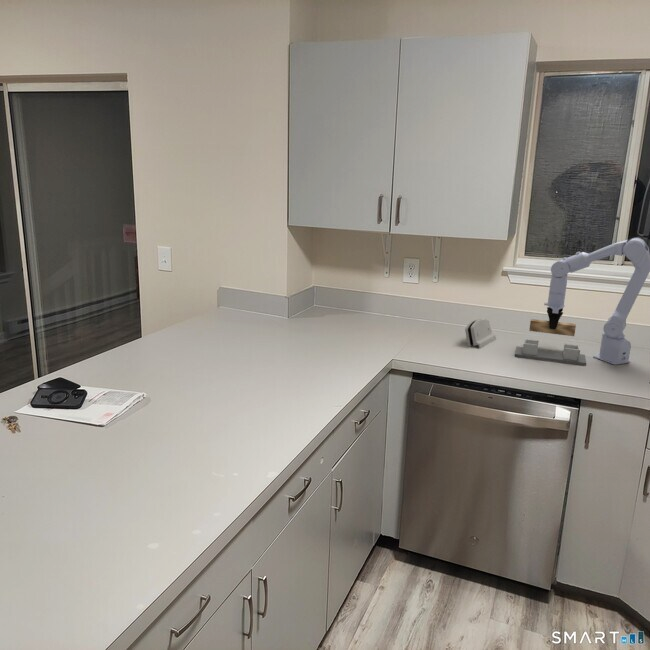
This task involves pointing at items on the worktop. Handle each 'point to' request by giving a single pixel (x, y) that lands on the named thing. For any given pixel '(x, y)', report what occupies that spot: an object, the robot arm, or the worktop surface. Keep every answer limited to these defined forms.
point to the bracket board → (551, 353)
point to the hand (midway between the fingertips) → (552, 327)
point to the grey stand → (479, 333)
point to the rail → (560, 329)
